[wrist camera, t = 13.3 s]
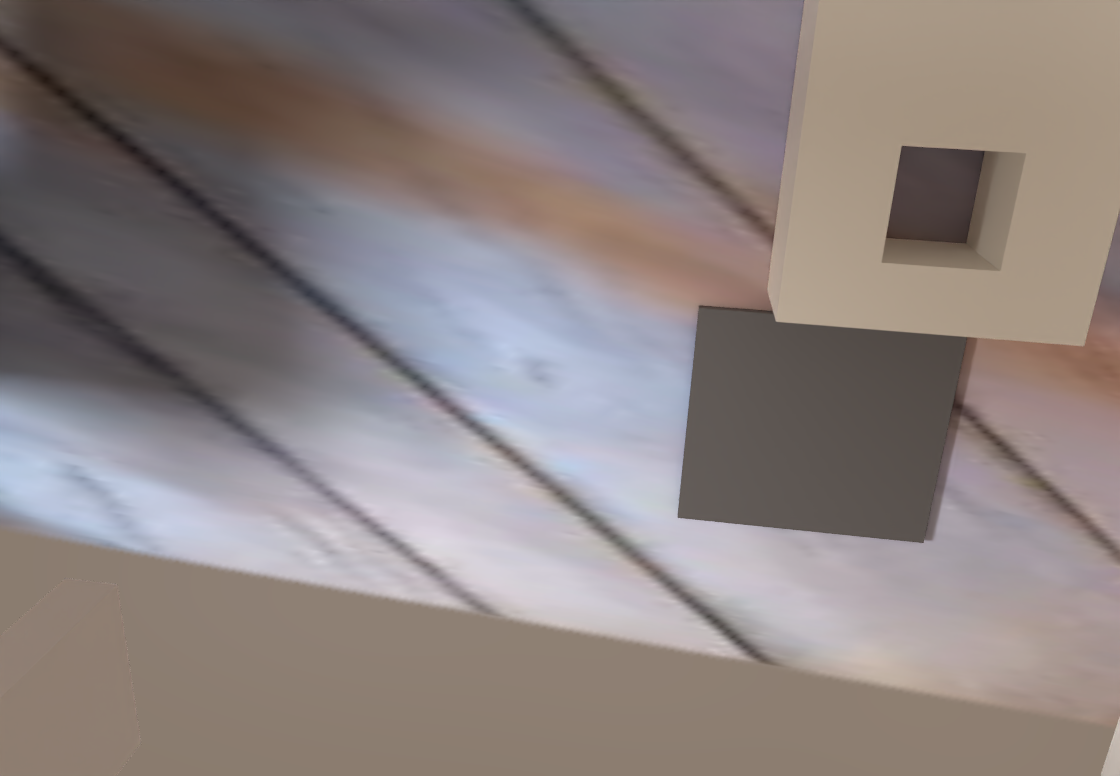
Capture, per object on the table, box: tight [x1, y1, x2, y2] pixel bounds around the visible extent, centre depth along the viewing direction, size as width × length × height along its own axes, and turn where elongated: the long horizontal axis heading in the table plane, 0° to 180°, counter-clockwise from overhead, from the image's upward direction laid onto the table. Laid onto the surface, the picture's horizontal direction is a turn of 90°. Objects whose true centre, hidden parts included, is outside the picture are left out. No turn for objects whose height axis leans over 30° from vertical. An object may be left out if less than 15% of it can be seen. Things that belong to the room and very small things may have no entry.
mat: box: [678, 306, 967, 543], centre depth 45 cm, size 12×11×1 cm
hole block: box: [767, 0, 1120, 346], centre depth 36 cm, size 12×21×5 cm, turn 177°
